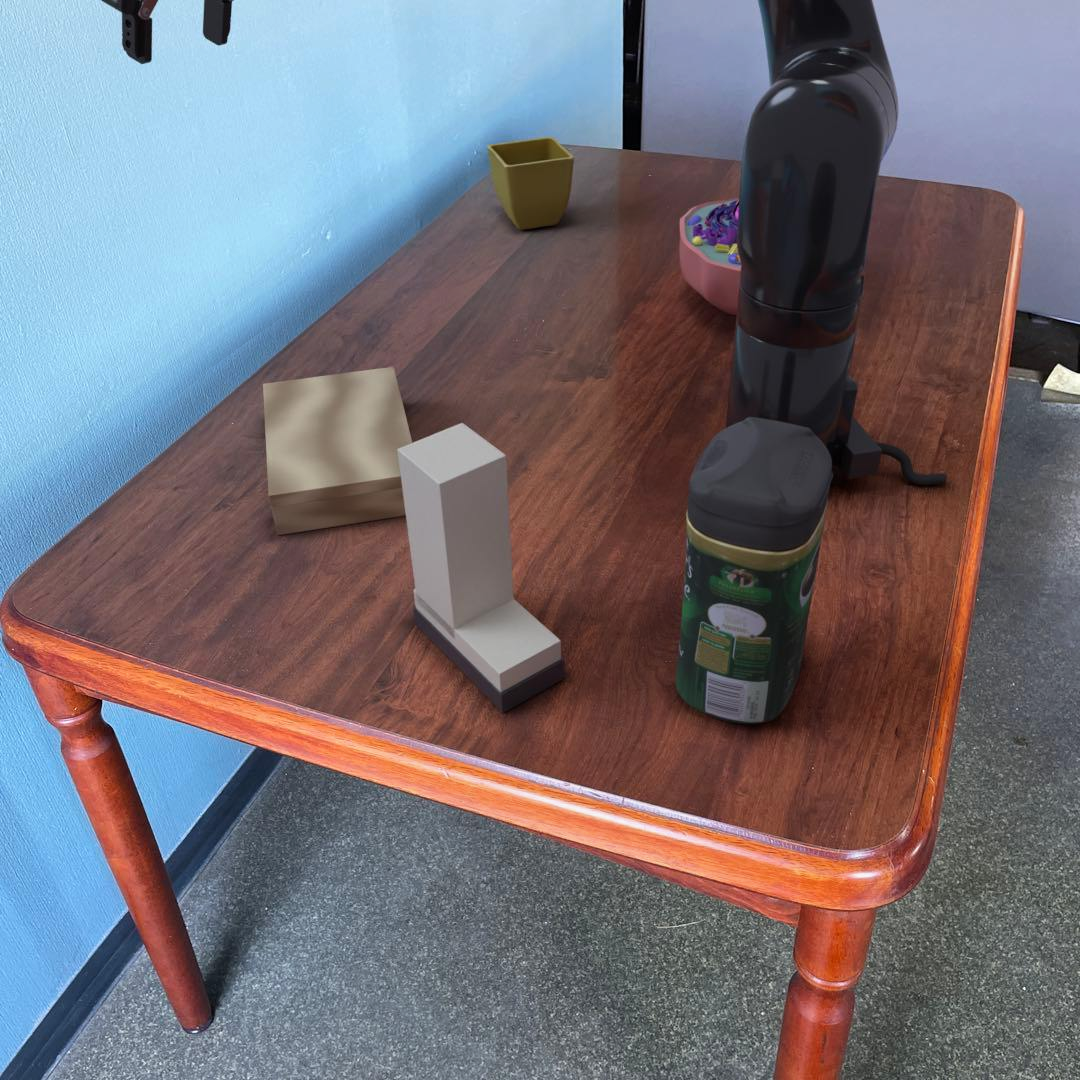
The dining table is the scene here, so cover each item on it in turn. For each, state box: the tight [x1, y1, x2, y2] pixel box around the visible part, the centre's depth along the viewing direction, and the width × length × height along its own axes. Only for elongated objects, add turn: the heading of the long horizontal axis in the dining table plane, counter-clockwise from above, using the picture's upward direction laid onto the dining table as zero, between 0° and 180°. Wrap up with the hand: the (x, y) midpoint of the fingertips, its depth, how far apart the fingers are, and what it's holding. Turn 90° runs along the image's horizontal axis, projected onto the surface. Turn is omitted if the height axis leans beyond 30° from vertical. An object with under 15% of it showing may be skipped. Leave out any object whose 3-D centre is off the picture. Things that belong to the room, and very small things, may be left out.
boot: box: [397, 422, 565, 714], centre depth 71 cm, size 11×5×16 cm, turn 37°
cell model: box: [678, 197, 741, 317], centre depth 114 cm, size 17×20×11 cm
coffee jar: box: [675, 417, 833, 725], centre depth 67 cm, size 10×8×19 cm
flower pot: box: [487, 136, 575, 231], centre depth 134 cm, size 9×9×9 cm
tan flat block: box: [262, 366, 414, 536], centre depth 93 cm, size 12×18×4 cm, turn 13°
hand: (178, 50), depth 90 cm, fingers open, 8 cm apart
